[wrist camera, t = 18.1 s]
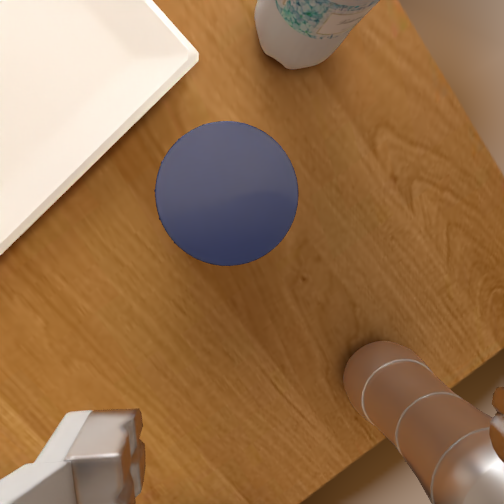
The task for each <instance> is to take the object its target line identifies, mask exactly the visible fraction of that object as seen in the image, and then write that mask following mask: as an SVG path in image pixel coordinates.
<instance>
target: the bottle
mask: <svg viewBox="0 0 504 504" xmlns="http://www.w3.org/2000/svg"><path fill="white" fill-rule="evenodd" d="M379 1H380V0H257V4H256V8H255V23H256V29H257V33H258V36H259V41H260V45H261V47H262V49H263V51H264V53H265V54H267V55H269V56H271V57H273V58H274V59H276V60H277V61H278V62H280V63H281V64H282V65H283V66H284V67H285V68H288V69H299V68H305V67H310V66H314V65H317V64H319V63H321V62H323V61H324V60H326V59H327V58H328V57H329V56H330V55H331V54H332V53H333V52H334V51H335V50H336V49H337V48H338V47H339V45H340V44H341V43H342V42H343V40H344V39H345V38H346V36H347V35H348V34H349V32H350V31H351V30H352V28H353V27H354V26H355V25H356V24H357V23H358V22H359V21H360V20H361V19H362V18H363V17H364V16H365V15H366V14H367V13H368V12H369V11H370V10H371V9H372V8H373V7H374V6H375V5H376V4H377V3H378V2H379Z"/></svg>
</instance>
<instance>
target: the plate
mask: <svg viewBox="0 0 504 504" xmlns="http://www.w3.org/2000/svg"><path fill="white" fill-rule="evenodd" d="M198 61H199V52H198V51H197V50H196V49H195V48H194V47H193V46H192V44H191V43H190V42H189V41H188V40H187V39H186V38H185V37H184V35H183V34H182V33H181V32H180V31H179V30H178V29H177V28H176V26H175V25H174V24H173V23H172V22H171V21H170V20H169V19H168V17H167V16H166V15H165V14H164V13H163V12H162V11H161V10H160V8H159V7H158V6H157V5H156V4H155V3H154V2H153V1H152V0H0V255H1V254H2V253H3V252H4V251H5V250H6V249H7V248H9V247H10V246H11V245H12V244H13V243H14V242H15V241H16V240H17V239H18V238H19V237H20V236H21V235H22V234H23V233H24V232H25V231H26V230H27V229H28V228H29V227H30V226H31V225H32V224H33V223H34V222H35V221H36V220H37V219H38V218H39V217H40V216H41V215H42V214H43V213H44V212H45V211H46V210H47V209H48V208H49V207H50V206H51V205H52V204H53V203H54V202H55V201H56V200H57V199H58V198H59V197H60V196H62V195H63V194H64V193H65V192H66V191H67V190H68V189H69V188H70V187H71V186H72V185H73V184H74V183H75V182H76V181H77V180H78V179H79V178H80V177H81V176H82V175H83V174H84V173H85V172H86V171H87V170H88V169H89V168H90V167H91V166H92V165H93V164H94V163H95V162H96V161H97V160H98V159H99V158H100V157H101V156H102V155H103V154H104V153H105V152H106V151H107V150H108V149H109V148H110V147H111V146H112V145H113V144H114V143H116V142H117V141H118V140H119V139H120V138H121V137H122V136H123V135H124V134H125V133H126V132H127V131H128V130H129V129H130V128H131V127H132V126H133V125H134V124H135V123H136V122H137V121H138V120H139V119H140V118H141V117H142V116H143V115H144V114H145V113H146V112H147V111H148V110H149V109H150V108H151V107H152V106H153V105H154V104H155V103H156V102H157V101H158V100H159V99H160V98H161V97H162V96H163V95H164V94H165V93H166V92H167V91H169V90H170V89H171V88H172V87H173V86H174V85H175V84H176V83H177V82H178V81H179V80H180V79H181V78H182V77H183V76H184V75H185V74H186V73H187V72H188V71H189V70H190V69H191V68H192V67H193V66H194V65H195V64H196V63H197V62H198Z"/></svg>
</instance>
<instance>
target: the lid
mask: <svg viewBox="0 0 504 504" xmlns="http://www.w3.org/2000/svg"><path fill="white" fill-rule="evenodd" d="M155 198H156V206H157V210H158V214H159V217H160V218H159V219H160V220H161V222H162V225H163V226H164V228H165V230H166V232H167V233H168V235H169V236H170V237H171V239H172V240H173V241H174V243H175V244H177V245H178V246H179V247H180V248H181V249H182V250H183V251H185V252H186V253H187V254H189V255H191V256H192V257H194V258H196V259H198V260H201V261H203V262H206V263H210V264H214V265H220V266H233V265H241V264H245V263H249V262H251V261H254V260H257V259H258V258H260V257H262V256H264V255H266V254H267V253H268V252H270V251H271V250H272V249H274V248H275V247H276V246H277V245H278V244H279V243H280V242H281V240H282V239H283V238H284V237H285V235H286V234H287V232H288V231H289V229H290V227H291V225H292V223H293V220H294V217H295V214H296V210H297V205H298V184H297V178H296V174H295V171H294V168H293V166H292V163H291V161H290V159H289V158H288V156H287V154H286V153H285V151H284V150H283V149H282V147H281V146H280V145H279V144H278V143H277V142H276V141H275V140H274V139H273V138H272V137H270V136H269V135H268V134H266V133H265V132H263V131H261V130H259V129H258V128H256V127H253V126H250V125H248V124H244V123H240V122H233V121H219V122H213V123H208V124H205V125H202V126H199V127H197V128H195V129H193V130H191V131H190V132H188V133H187V134H185V135H184V136H182V137H181V138H180V139H178V141H177V142H176V143H175V144H174V145H173V146H172V147H171V149H170V150H169V151H168V153H167V154H166V156H165V157H164V159H163V162H161V166H160V169H159V172H158V175H157V180H156V189H155Z"/></svg>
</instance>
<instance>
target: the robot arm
mask: <svg viewBox="0 0 504 504" xmlns="http://www.w3.org/2000/svg"><path fill="white" fill-rule="evenodd" d="M492 405H493V406H494V408H495V409H496V411H497V413H496V414H495V416H494V417H493V418H492V419H491V421H490V429H489V436H490V439H491V443H492V447H493V449H494V450H495V452H496V454H497V456H498V457H499V458H500V459H501V460H502V462H503V463H504V387H497V388H496V391H495V392H494V394H493V400H492ZM142 427H143V423H142V415H141V411H140V409H139V408H138V409H113V410H94V411H92V410H87V411H73V412H69V413H67V414H66V415H65V416H64V418H63V419H62V421H61V422H60V424H59V425H58V427H57V428H56V430H55V431H54V433H53V434H52V436H51V437H50V439H49V441H48V442H47V444H46V445H45V447H44V448H43V450H42V451H41V453H40V454H39V456H38V457H37V459H36V460H35V462H34V463H31V464H25V465H23V466H22V467H20V468H18V469H17V470H15V471H14V472H12V473H11V474H9V475H7V476H6V477H4V478H3V479H1V480H0V504H136V502H135V497H136V496H137V495H138V494H140V493H141V490H142V486H143V482H144V474H145V444H144V443H143V442H142V441H141V440H140V439H139V437H140V434H141V431H142Z"/></svg>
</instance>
